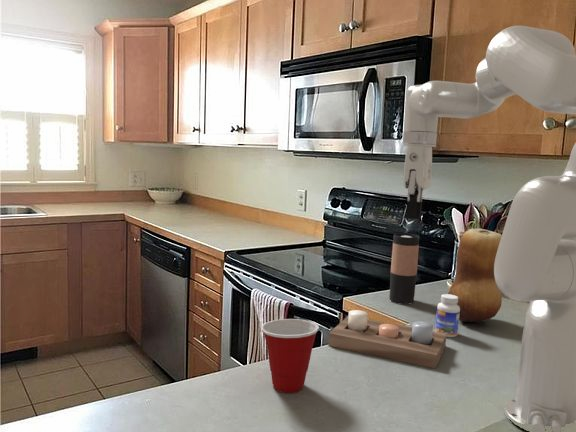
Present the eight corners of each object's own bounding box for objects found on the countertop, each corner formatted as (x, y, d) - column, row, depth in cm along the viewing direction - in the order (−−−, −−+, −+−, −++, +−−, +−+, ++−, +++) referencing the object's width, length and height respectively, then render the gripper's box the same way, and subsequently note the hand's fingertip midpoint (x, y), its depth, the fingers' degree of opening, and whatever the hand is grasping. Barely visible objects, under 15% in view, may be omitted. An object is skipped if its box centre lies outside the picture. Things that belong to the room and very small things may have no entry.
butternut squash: (492, 334, 130) (502, 236, 126) (439, 322, 137) (448, 229, 134) (504, 320, 141) (513, 230, 138) (455, 309, 149) (462, 224, 145)
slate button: (429, 347, 113) (431, 329, 112) (409, 343, 115) (410, 325, 114) (432, 340, 117) (434, 323, 116) (413, 336, 119) (414, 320, 118)
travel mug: (383, 298, 157) (388, 233, 154) (403, 296, 160) (408, 232, 157) (398, 305, 150) (404, 238, 147) (419, 303, 153) (425, 237, 151)
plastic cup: (291, 368, 105) (294, 311, 103) (327, 389, 97) (331, 328, 95) (247, 381, 98) (249, 321, 97) (282, 405, 90) (284, 339, 88)
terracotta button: (395, 348, 116) (396, 331, 116) (375, 345, 118) (377, 328, 118) (399, 342, 120) (400, 326, 120) (380, 338, 122) (382, 322, 122)
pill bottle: (432, 334, 128) (436, 296, 126) (437, 328, 132) (440, 291, 131) (455, 339, 125) (458, 300, 124) (459, 332, 130) (462, 295, 129)
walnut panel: (436, 368, 108) (437, 354, 108) (328, 345, 118) (329, 333, 117) (445, 346, 121) (446, 333, 120) (347, 327, 130) (348, 315, 130)
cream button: (363, 334, 119) (364, 317, 119) (345, 330, 121) (346, 314, 120) (368, 328, 123) (369, 312, 122) (351, 324, 125) (352, 308, 124)
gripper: (430, 139, 111) (423, 223, 114) (440, 141, 125) (434, 216, 127) (396, 138, 114) (390, 220, 117) (409, 140, 128) (404, 213, 130)
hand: (413, 218), depth 122 cm, fingers closed
